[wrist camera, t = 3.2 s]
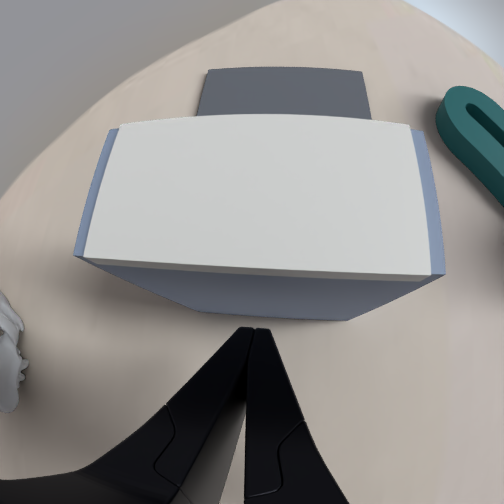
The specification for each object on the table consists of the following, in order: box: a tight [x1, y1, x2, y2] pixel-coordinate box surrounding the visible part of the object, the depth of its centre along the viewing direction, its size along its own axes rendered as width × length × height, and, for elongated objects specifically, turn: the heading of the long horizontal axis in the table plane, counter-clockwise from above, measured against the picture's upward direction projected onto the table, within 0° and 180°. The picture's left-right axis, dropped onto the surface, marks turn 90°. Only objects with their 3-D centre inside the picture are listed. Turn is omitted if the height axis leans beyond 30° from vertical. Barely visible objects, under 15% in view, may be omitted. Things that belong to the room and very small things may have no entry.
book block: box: [73, 114, 446, 321], centre depth 12 cm, size 4×8×11 cm, turn 85°
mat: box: [197, 67, 372, 120], centre depth 19 cm, size 14×12×1 cm
